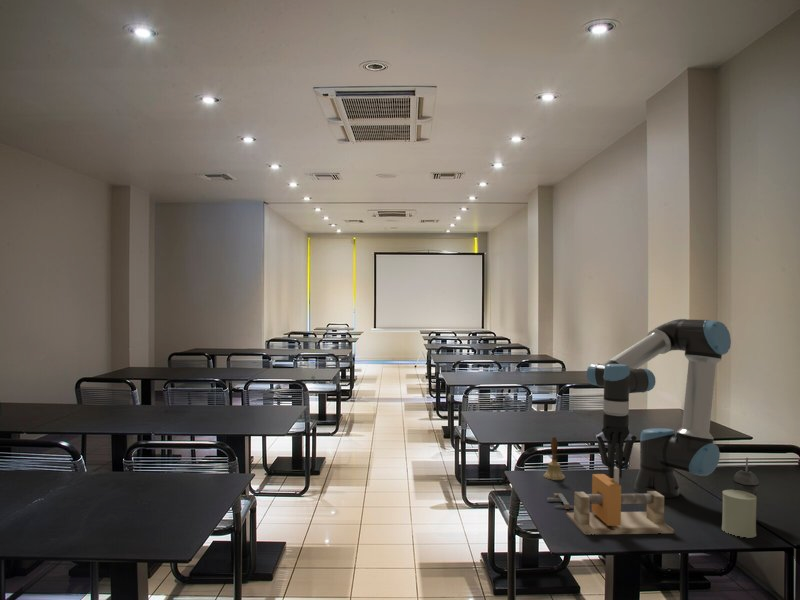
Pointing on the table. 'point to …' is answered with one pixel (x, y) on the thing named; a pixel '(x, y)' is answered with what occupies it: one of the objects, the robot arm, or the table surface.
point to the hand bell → (554, 464)
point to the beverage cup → (746, 481)
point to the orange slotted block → (607, 499)
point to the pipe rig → (629, 520)
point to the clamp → (560, 498)
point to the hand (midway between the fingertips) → (614, 488)
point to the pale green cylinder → (739, 513)
